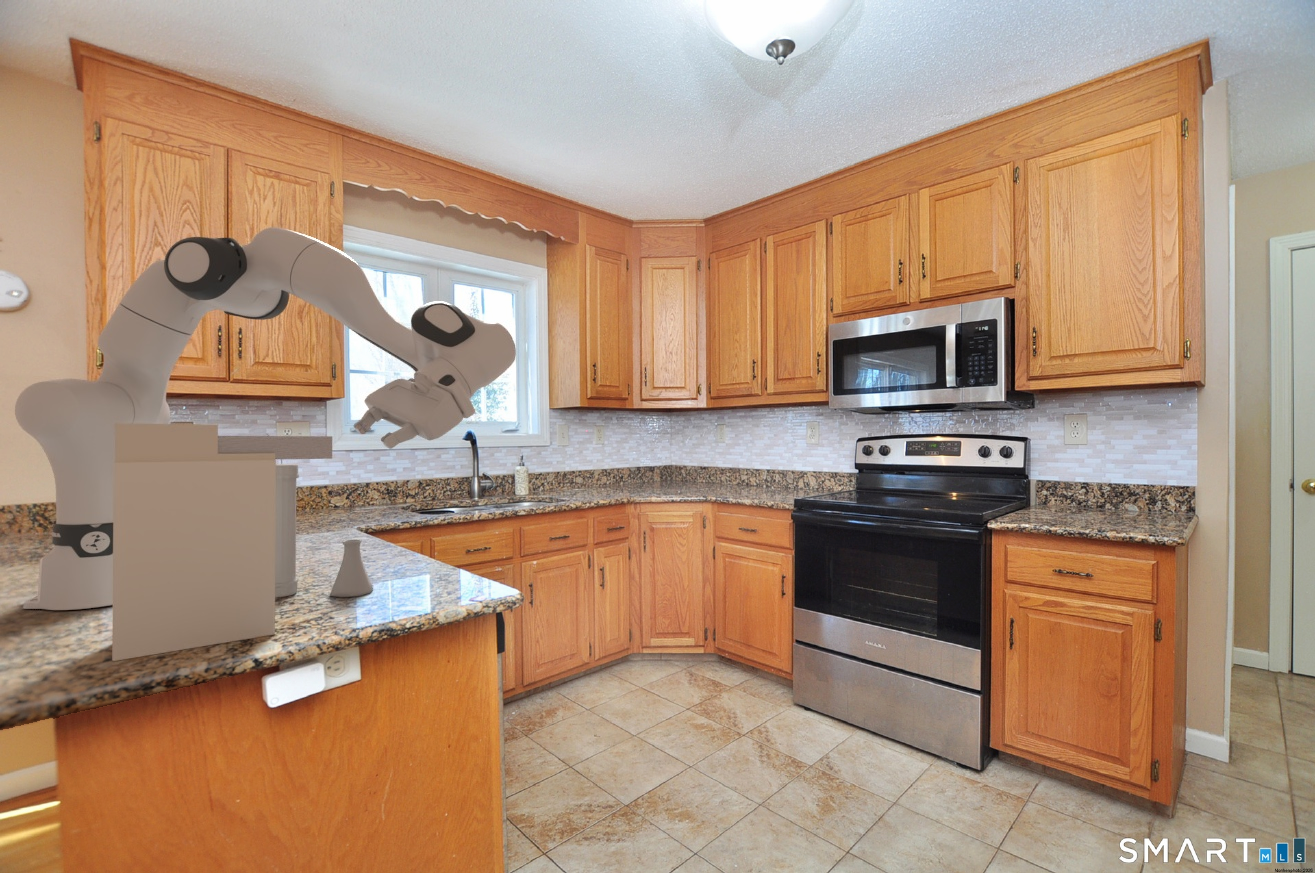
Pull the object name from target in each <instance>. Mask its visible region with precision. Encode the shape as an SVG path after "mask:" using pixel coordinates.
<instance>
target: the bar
mask: <svg viewBox="0 0 1315 873" xmlns="http://www.w3.org/2000/svg"><path fill="white" fill-rule="evenodd" d="M228 453H275V460H281V459H282V460H320V459H321V460H323V459H327V460H328V459H329V460H330V459H333V436H332V435H331V436H329V435H328V436H327V435H325V436H324V435H317V436H316V435H269V436H268V435H218V454H228Z"/></svg>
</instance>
